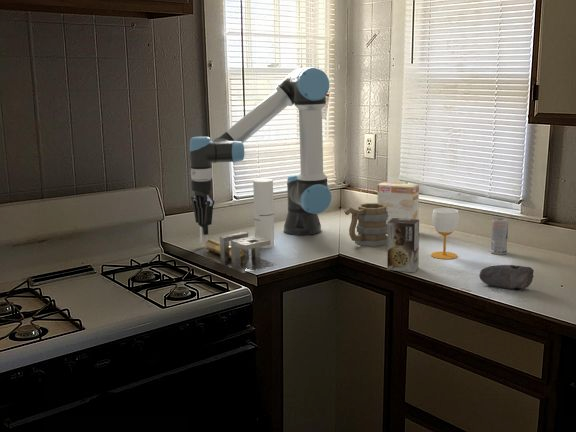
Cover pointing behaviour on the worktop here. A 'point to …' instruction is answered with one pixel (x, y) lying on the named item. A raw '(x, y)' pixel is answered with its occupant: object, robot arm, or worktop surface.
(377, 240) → the tankard
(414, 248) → the grey cookie box
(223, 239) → the grey angled bracket piece
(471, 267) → the worktop surface
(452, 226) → the cup
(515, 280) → the perforated stone tool
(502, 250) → the energy drink
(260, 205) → the cylindrical container
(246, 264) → the hearth plate
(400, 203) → the coffeecake box
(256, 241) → the white stool-shaped bracket
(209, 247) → the tan cylinder
